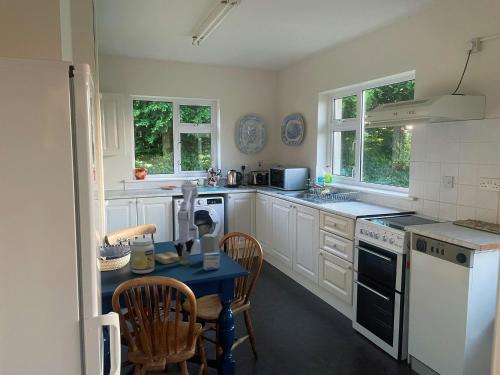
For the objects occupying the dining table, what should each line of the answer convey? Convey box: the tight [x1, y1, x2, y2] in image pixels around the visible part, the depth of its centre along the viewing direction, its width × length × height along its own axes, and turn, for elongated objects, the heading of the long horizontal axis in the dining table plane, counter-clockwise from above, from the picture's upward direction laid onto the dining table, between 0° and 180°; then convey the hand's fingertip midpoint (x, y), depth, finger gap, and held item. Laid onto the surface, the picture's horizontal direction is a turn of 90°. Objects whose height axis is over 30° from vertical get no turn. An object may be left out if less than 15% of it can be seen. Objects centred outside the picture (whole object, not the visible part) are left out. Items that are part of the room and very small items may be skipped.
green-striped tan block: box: [154, 251, 180, 265], centre depth 226 cm, size 12×12×3 cm
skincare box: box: [201, 233, 221, 262], centre depth 223 cm, size 8×7×16 cm
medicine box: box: [202, 252, 220, 271], centre depth 209 cm, size 8×4×9 cm, turn 114°
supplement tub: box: [130, 237, 156, 274], centre depth 205 cm, size 12×12×17 cm
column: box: [179, 250, 190, 266], centre depth 218 cm, size 4×4×7 cm
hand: (184, 254), depth 218 cm, fingers open, 7 cm apart
